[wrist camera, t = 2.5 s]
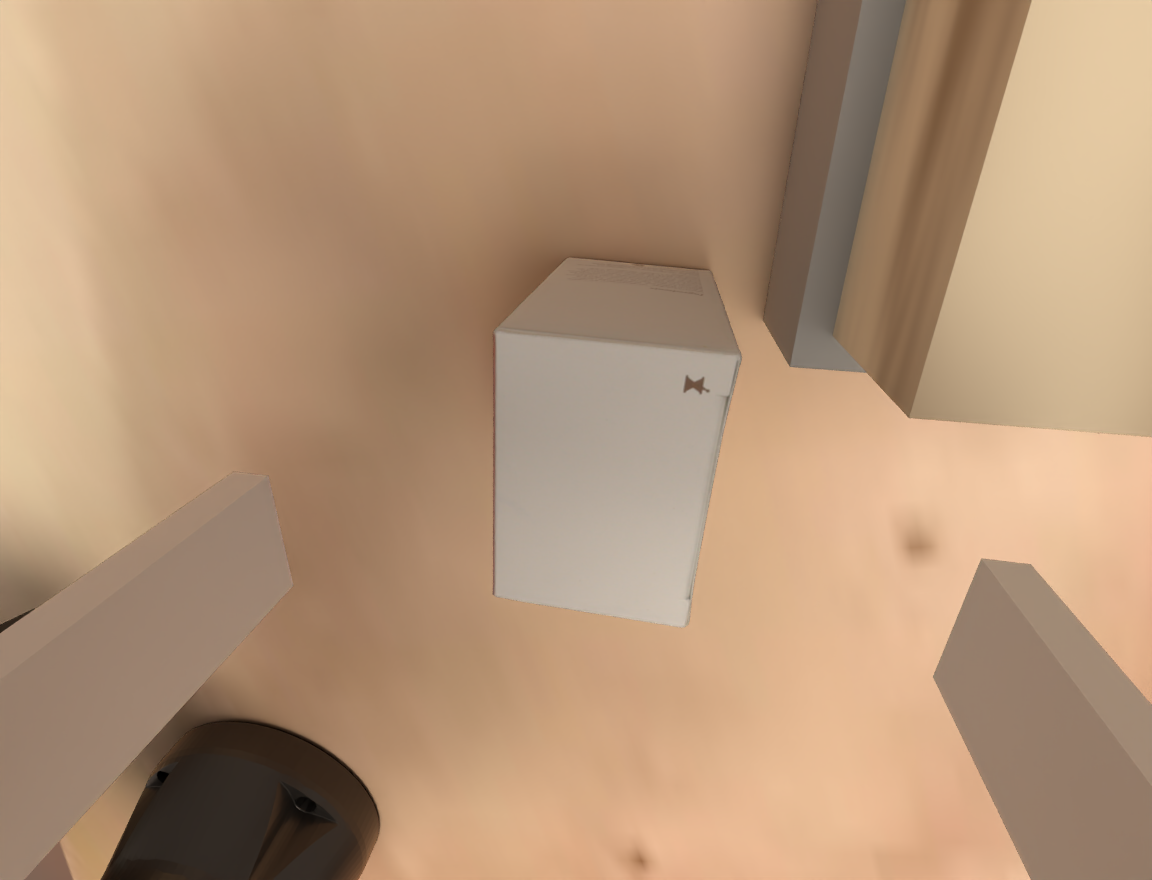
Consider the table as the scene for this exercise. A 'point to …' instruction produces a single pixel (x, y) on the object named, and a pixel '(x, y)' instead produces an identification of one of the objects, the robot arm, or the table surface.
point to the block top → (1011, 218)
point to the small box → (609, 437)
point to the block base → (829, 176)
